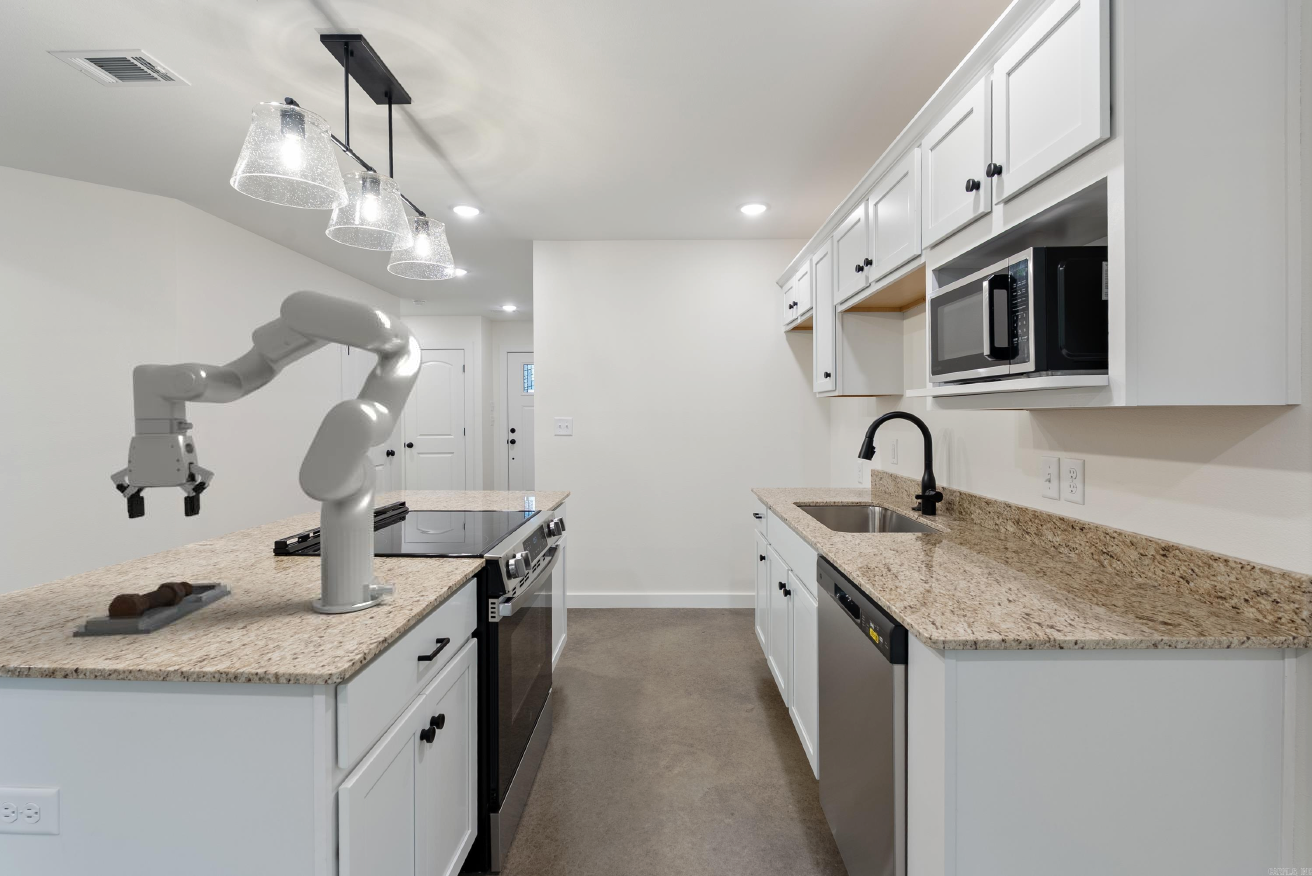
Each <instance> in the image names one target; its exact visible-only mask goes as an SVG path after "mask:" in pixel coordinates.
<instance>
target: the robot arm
mask: <svg viewBox="0 0 1312 876" xmlns="http://www.w3.org/2000/svg"><path fill="white" fill-rule="evenodd" d="M279 315H280V316H279V317H277V318H275V319H273V320H271V321H269V322H267V323H265V324H262V325H260V326H259V327H257V328H255V329H253V331H252V333H251V340H252V344H253V346H252V347H251V348H250V350H249V351H248V352H246V353H245V354H243V355H242V356H240V357H237V358H236V359H234V360H232V361H230V362H228V363H227V364H224V365H222V366H219V365H214V364H213V365H212V364H206V363H205V364H204V363H200V362H183V363H177V364H156V363H155V364H153V363H150V364H139V365H136V366H135V367H134V368H133V370H132V386H133V387H132V390H133V391H132V392H133V394H132V395H133V415H134V416H133V418H134V435H135V436H131V439H130V443H129V448H128V455H127V456H128V457H127V466H126V467H125V468H123V469H121V470H119V471H117V472H115V473H113V474H111V475H110V480H111V481H112V482H113V485H115V489H116V490H117V491H118V492H119V493H121V494H122V497H123V498H124V499H126V501H127V502H126V507H127V509H126V510H127V511H126V512H127V513H128V519H130V520H131V519H132V520H133V519H137V518H142V517H144V516H145V514H146V512H145V511H146V510H145V509H146V508H145V497H144V495H141V494H143V492H144V491H145V490H146V489H147V488H152V489H153V488H174V487H175V488H176V487H179V488H180V489H181V490H182V491H183V492H184V493H185V494H186V495H185V496H184V498H183V503H184V504H183V505H184V506H183V508H184V517H186V518H187V517H188V518H190V517H193V516H194V517H195V516H198V515H200V510H201V496H200V495H202V494H203V492H204V491H205V490H206V489H207V488H208V487H209V486H210V483H211V481H212V480H213V477H214V476H215V473H214V472H213V471H211V470H208V469H207V468H205V467H202V466H199V461H198V460H199V459H198V454H197V449H196V446H195V445H196V444H195V442H194V439H193V436H192V435H187V433H188V430H192V429H193V428H194V427H193V426H194V425H193V423H192V422H188V420H187V412H186V411H187V409H186V408H187V407H186V402H189V403H200V404H201V403H206V404H207V403H210V404H228V403H233V402H235V401H237V400H241V399H242V398H244V397H246V396H248V395H251V394H252V393H254V392H256V391H258V390H260V389H262V388H263V387H265V386H267V385H268V384H270V383H271V382H272V381H273V380H274V379H276V377H277V376H278V375H280V374H281V372H282V371H283V369H285V368H287V366H289V365H292V364H293V363H295V362H297V361H299V360H301V359H303V358H305V357H306V356H308V355H310V354H312V353H314V352H316V351H317V350H320V349H322V348H324V347H326V346H327V345H330V344H332V343H334V344H338V345H343V346H347V347H351V348H354V349H359V350H362V351H365V352H367V353H372V354H375V355H376V356H377V362H376V364H375V365H374V366H373V368H372V370H370V372H369V373H368V375H367V377H366V379H365V381H364V383H363V386H362V388H361V390H360V391H359V393H358V395H357V397H356V398H355V399H354V398H352V399H351V398H350V399H347V400H343V401H341V402H339V403H336V405H334V406H332V408H331V409H330V410H329V411H328V412H326V413H327V414H326V415H325V416H324V418H323V419H322V422H321V423H320V424H319V425H320V426H319V427H318V429H317V431H316V434H315V436H314V438H313V440H312V442H311V444H310V446H309V448H308V449H307V451H306V453H305V456H304V457H303V460H302V463H301V465H300V468H299V473H298V482H299V486H300V488H301V490H302V491H303V493H304V494H305V495H306V496H307V497H308V498H310V499H312V500H314V501H317V502H322V503H321V509H320V519H319V520H320V521H319V522H320V523H319V525H320V530H319V532H320V533H319V534H320V538H319V540H320V581H321V582H320V584H321V587H320V588H321V596H320V597H317V598H316V599H314V600H313V602H312V610H313V611H315V612H317V613H323V614H343V613H350V612H355V611H360V610H365V609H369V608H371V607H374V606H376V605H378V604H380V603H381V601H383V599H384V596H388V595H389V596H391V595H392V596H393V595H395V593H396V585H395V584H394V583H393V582H391V583H390V582H388V583H381V582H380V577H379V576H375V550H374V549H375V548H374V546H375V545H374V544H375V541H374V539H375V538H374V537H375V536H374V535H375V533H374V526H375V525H374V524H375V523H374V522H375V521H374V519H375V518H374V517H375V515H374V513H375V512H374V510H375V507H374V506H375V504H374V503H375V495H376V488H377V469H376V466H375V463H374V461H373V460H372V458H371V457H370V456H369V455H368V453H369V451H370V449H371V448H374V447H379V446H381V445H383V444H385V443H386V442H387V441H388V440H389V438H390V437H391V436H392V434H393V431H394V430H395V427H396V424H397V423H398V420H399V419H400V416H401V414H402V412H403V410H404V408H405V405H406V404H407V402H408V399H409V397H410V394H411V392H412V391H413V388H414V385H415V384H416V382H417V379H418V378H419V375H420V372H421V369H422V364H423V352H422V347H421V344H420V342H419V340H418V338H417V337H416V335H415V334H414V333H413V331H412V330H411V328H409V326H408V325H406V324H405V322H403V321H402V320H401V319H399V318H397V317H396V316H394V315H392V314H390V313H388V312H387V311H385V310H383V309H381V308H379V307H376V306H373V305H370V304H367V303H363V302H358V301H355V300H350V299H346V298H341V297H336V296H332V295H328V294H324V293H321V292H317V291H313V290H299V291H296V292H293V293H290V294H289V295H288V296H287V297H286V298H284V300H283V301H282V302H281V305H280V308H279ZM126 478H127V480H128V483H127V481H126Z"/></svg>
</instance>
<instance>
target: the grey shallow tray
mask: <svg viewBox="0 0 1312 876" xmlns="http://www.w3.org/2000/svg"><path fill="white" fill-rule="evenodd" d="M221 583H222V582H204V583H203V582H201V583H200V582H199V583H190V584H191V585H193V586H194V589H192V590H193V593H192V594H201V595H199V596H197V602H203V601H205V600H208V599H210V598H212V597H214V596H216V595H218V594H220V593H222V592H224V591H227V590H228V584H221ZM176 614H177V608H170V609H168V610H165V611H163V612H161V613H159V614H157V615H154V616H152V617H150V618H148V617H147V615H141V616H117V617H110V615H109V612H107V613H105V614H103V615H99V616H97V617H96V616H95V617H92V618H90V619H87V620H85V622H83V623H80V624H77V630H78V632H85V631H103V630H126V629H146V628H149V627H151V626H153V625H155V624H157V623H159V622H161V621H163V620H165V619H167V618H170V617H172V616H174V615H176Z"/></svg>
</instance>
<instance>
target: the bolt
mask: <svg viewBox="0 0 1312 876" xmlns="http://www.w3.org/2000/svg"><path fill="white" fill-rule="evenodd" d="M191 584H192V583H190V582H187V581H180V582H178V581H173V582H172V581H171V582H170V581H169V582H164V583H161V584H160V585H159V586H158V587H157V589H156V590H153V591H149V592H146V593H143V594H140V593H121V594H118V595H116V596H115V597H114V598H112V599H113V600H112V601H111V602H110V604H109V606H108V610H107V611H108V612H107V613H109V615H110V617H117V616H141V615H143V614H144V612H146V611H148V610H151V609H154V608H157V607H159V606H175V605H178V604H179V603H180V602H181V601H182V599H183V598H184V597H187V596H190V595H191V594H192V593H193V590H192V589H194V586H193V585H191Z"/></svg>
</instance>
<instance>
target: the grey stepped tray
mask: <svg viewBox="0 0 1312 876" xmlns="http://www.w3.org/2000/svg"><path fill="white" fill-rule="evenodd" d="M231 594H232V590H228V589H227V591H224V592H222V593H220V594H218V595H216V596H214V597H212V598H210V599H208V600H205V601H203V602H197V596H199V595H201V594H191V595H190V596H187V597H184V598H183V599H182V601H181V602H180V603H179V604H178V605H175V606H159V607H157V608H154V609H151V610H148V611H146V612H144V614H143V615H147V617H148V618H150V617H152V616H154V615H157V614H159V613H161V612H163V611H165V610H168V609H170V608H177V614H176V615H174V616H172V617H170V618H167V619H165V620H163V621H161V622H159V623H157V624H155V625H153V626H151V627H149V628H146V629H126V630H103V631H85V632H78V629H77V630H75V631H73V632H72V637H73V638H80V637H99V636H102V637H103V636H122V635H125V636H126V635H143V634H144V635H146V634H152V633H155V632H156V631H158V630H160V629H162V628H164V627H166V626H169V625H171V624H173V623H174V622H177V621H178V620H181V619H183V618H185V617H187V616H189V615H191V614H193V613H195V612H197V611H198V610H201V609H203V608H205V607H208V606H209V605H212V604H213V603H216V602H217V601H219V600H221V599H223V598H225V597H229V596H230V595H231Z"/></svg>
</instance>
